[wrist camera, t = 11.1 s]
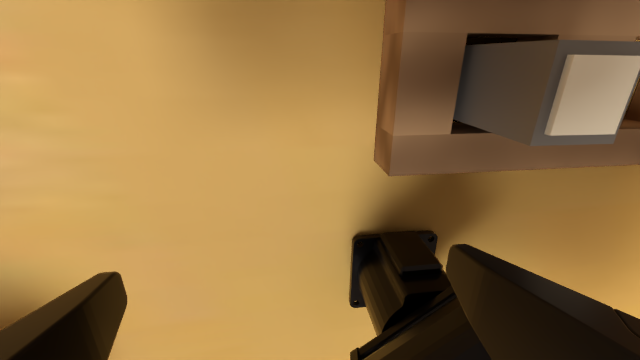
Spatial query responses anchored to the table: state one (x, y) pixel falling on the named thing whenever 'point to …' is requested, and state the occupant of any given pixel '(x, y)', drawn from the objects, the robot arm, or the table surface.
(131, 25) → the table surface
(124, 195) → the table surface
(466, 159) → the socket board
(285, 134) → the table surface
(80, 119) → the table surface
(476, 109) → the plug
